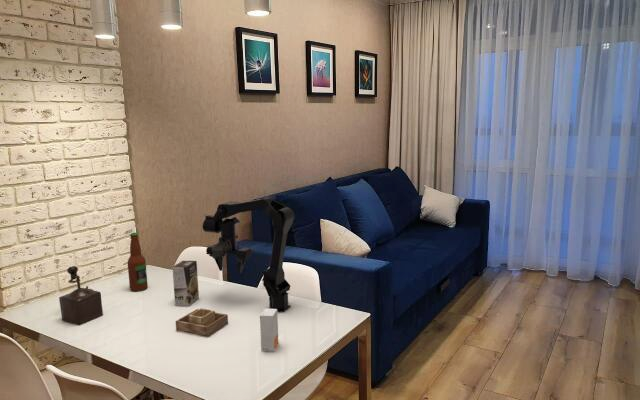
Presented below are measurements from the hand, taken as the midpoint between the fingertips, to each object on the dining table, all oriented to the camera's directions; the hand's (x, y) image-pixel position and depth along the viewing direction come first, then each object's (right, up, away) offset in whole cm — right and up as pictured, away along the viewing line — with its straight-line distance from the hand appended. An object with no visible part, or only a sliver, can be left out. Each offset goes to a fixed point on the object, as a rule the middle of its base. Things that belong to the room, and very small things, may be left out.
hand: (230, 272), depth 193 cm
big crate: (-6, -16, -22) cm, 28 cm away
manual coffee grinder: (-55, -15, -10) cm, 58 cm away
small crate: (-6, -15, -22) cm, 28 cm away
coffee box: (-18, -13, +2) cm, 22 cm away
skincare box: (+20, -19, -38) cm, 47 cm away
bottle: (-43, -10, +18) cm, 48 cm away
